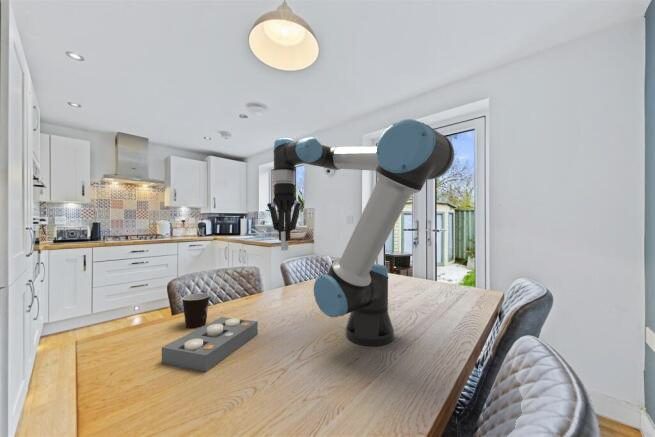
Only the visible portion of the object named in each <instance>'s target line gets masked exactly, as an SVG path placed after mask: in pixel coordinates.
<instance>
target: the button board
mask: <svg viewBox="0 0 655 437" xmlns="http://www.w3.org/2000/svg"><path fill="white" fill-rule="evenodd" d="M231 318H232V317H225V316H221V317H219V318H217V319H214V320H212V321H211V322H209V323H206V325H204V326H202V327H200V328H196V329H194V330H193V331H191V332H189V333H187V334H185V335H183V336H181V337H179V338H178V339H175V340H174V341H172V342H170V343H167V344H166V345H164V346H162V347H161V363H162V364H165V365H171V366H175V367H181V368H184V369H189V370H194V371H200V372H208V371H209V370H211V369H212V368H214V367H215V366H216V365H217V364H219V363H220V362H221V361H223V360H224V359H225V358H227V357H228V356H229V355H231V354H232V353H234V352H235V351H237V350H238V349H239V348H240V347H242V346H243V345H245V344H246V343H247V342H249V341H250V340H251V339H253V338H254V337H255V336H256V335H258V333H259V332H258V326H259V324H258V322H259V321H255V320H249V319H242V318H239V319H240V324H239V325H237V326H235V327H230V326H225V321H226V320H227V319H231ZM213 324H222V325H223V334H221V335H219V336H216V337H209V336H207V327H208V326H210V325H213ZM191 339H202V340H203V346H202V347H201V348H199V349H197V350H196V351H190V350H184V344H185V342H187V341H189V340H191Z"/></svg>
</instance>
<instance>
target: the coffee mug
mask: <svg viewBox="0 0 655 437" xmlns="http://www.w3.org/2000/svg"><path fill="white" fill-rule="evenodd" d="M181 299H182V300H181V301H182V308H183V314H184V321H185V322H184V323H185V328H186V329H192V330H193V329H194V330H195V329H199V328H201V327H203V326H205V325H207V318H208V311H209V303H210V302H209V300H210V293H205V292H204V293H203V292H202V293H201V292H200V293H191V294H187V295H184V296H183V297H182V298H181Z"/></svg>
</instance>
